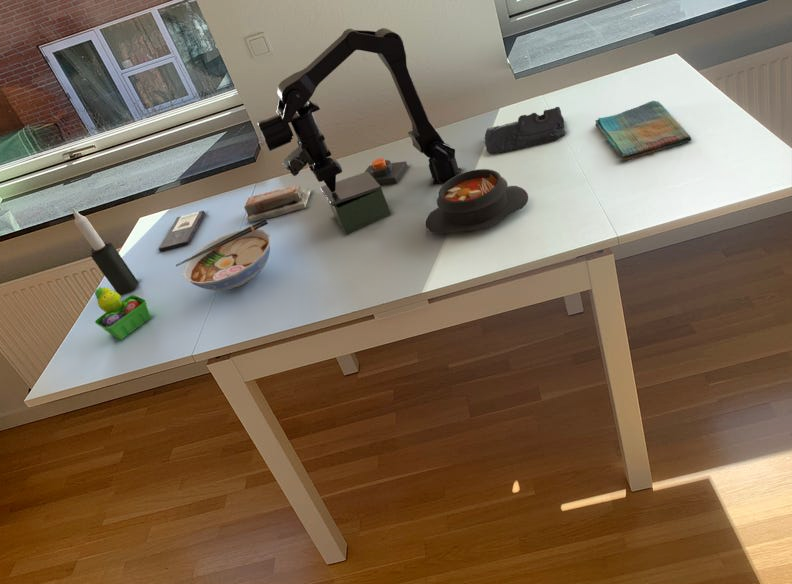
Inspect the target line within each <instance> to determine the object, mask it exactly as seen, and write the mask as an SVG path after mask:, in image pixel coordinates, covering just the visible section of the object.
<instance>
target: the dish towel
mask: <svg viewBox="0 0 792 584" xmlns="http://www.w3.org/2000/svg"><path fill="white" fill-rule="evenodd" d="M594 125H595V127H596V129H598V131H599V132H600V133H601V134H602V135H603V136H604V138H605V139H606V140H607V142H609V144H610V145H611V146H612V147H613V148H614V150H615V152H616V153H617V154H618V156H619V157H620V158H621V160H622V161H623V162H625V161H628V160H631V159H634V158H638V157H641V156H645V155H649V154H651V153H654V152H658V151H662V150H666V149H669V148H673V147H677V146H678V145H679V146H680V145H683V144H687V143H689V142H691V141H692V137H691V136H690V134H689V133H688V132H687V131H686V130H685V128H684V127H683V126H682V125H681V124H680V123H679V122H678V121H677V120H676V119H675V117H673V115H671V113H670V112H669V111H668V110H667V109H666V107H664V105H663V104H662V103H661V102H660V101H659V100H651V101H648V102H646V103H644V104H642V105H638V106H637V107H633V108H631V109H627V110H625V111H623V112H620V113H617V114H613V115H609V116H603V117H598V118H597V119H596V120H595V124H594Z"/></svg>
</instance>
